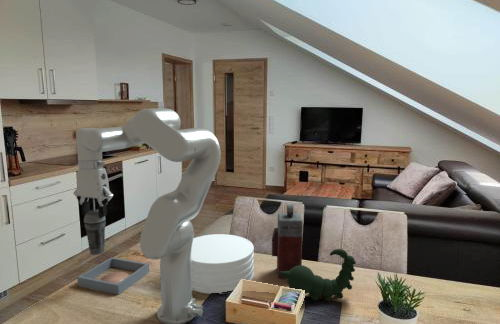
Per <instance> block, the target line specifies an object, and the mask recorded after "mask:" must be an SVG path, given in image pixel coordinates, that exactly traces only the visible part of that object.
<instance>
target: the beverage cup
mask: <svg viewBox="0 0 500 324" xmlns="http://www.w3.org/2000/svg"><path fill="white" fill-rule="evenodd" d="M92 206H93V207H92V208H93V209H90V211H89V212H87V214H86V215H85V216H83V217H84V218H83V224H84V229H85V232H86V238H87V244H88V249H89V253H90V255H93V256H95V255H96V256H97V255H101V254H102V255H103V254H104V252H105V246H106V245H105V243H106V242H105V238H106V235H105V233H106V232H105V231H106V221H107V218H106V216H104V217H102V218H100V217H99V211H98V209H97V208H96V202H95V198H92Z"/></svg>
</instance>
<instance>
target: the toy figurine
mask: <svg viewBox="0 0 500 324" xmlns="http://www.w3.org/2000/svg"><path fill="white" fill-rule="evenodd" d="M334 255H337V256H339V257H340V258H342V259H343V262H342V264H341V269H340V270H339V273H338V275H337V276H336V278H334V279H329V278H323V277H322V276H320V275H317V274H315V273H314V272H313V270H312V269H310V267H308V266H307V265H303V264H302V265H298V266H295V267H293V268H292V269H291V270H290V271H280V272H279V274H280V275H282V276H283V277H284V278H286V279H285V280H286V282H287V285H288V287H289V289H290V288H295V289H302V290H305V294H304V295H306V294H309V295H310V296H311V300H313V301H317V300H319V298H320V296H321V297H323V298H324V301H325V302H327V301H328V302H331V300H332V299H331V298H332V297H334V296H336V297H337V298H338V299H340V300H341V299H343V298H344V293H343V291H344V290H345V289H347V290H352V289H353V286H352V284H351V281H354V280H355V278H354V276H353V274H352V273H354V272H355V270H356V269H355V267H354V265H356V263H357V262H356V260H355V258H354V257H353V256H352V255H348V252H347V251H346V250H344V249H343V248H336V249H333V250H331V251H330V253H329V256H334ZM328 302H327V303H328Z"/></svg>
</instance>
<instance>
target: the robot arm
mask: <svg viewBox="0 0 500 324" xmlns="http://www.w3.org/2000/svg"><path fill="white" fill-rule="evenodd" d="M181 123H182V122H181V118H180V116H179V114H178V113H177V112H176V111H175V110H173V109H170V108H166V107H164V108H163V107H154V108H150V107H149V108H144V109H140V110H138V111H137V112H136V113H135V114H134V116H132V117H130V118H129V119H127V121H126V122H125V125H122V126H115V127H103V128H98V127H97V128H95V127H81V128H78V129H77V130H76V132H75V135H76V138H75V139H76V149H77V150H76V151H77V162H78V163H77V164H78V169H77V174H76V189H74V191H73V195H74V196H75V198H76V199H77V201H78V202H79V205H81V213H82V214H81V215H82V216H83V217H85V215H86V214H87V212H89V211H90V210H91V206H90V202H89V201H90V200H89V199H93V198H94V199H96V200H97V202H98V205H99V206H98V209H97V210H98V211H99V217H100V218H102V217H104V216H105V217H106V216H107V205H108V204H109V202H110V201H111V200H112V198H113V197H114V194H113V193H112V192H111V190H110V185H109V178H108V174H107V170H106V168H105V165H106V164H105V162H104V161H103V152H111V151H116V150H117V151H118V150H124V149H127V148H131V147H135V146H139V145H142V144H146V145H147V146H149V147H150V148H151V149H152V150H154V151H155V152H156V153H158V154H159V155H160V156H162V157H163V158H164V159H166V160H168V161H170V162H174V163H181V162H187V161H189V160H190V163H189V164H188V165H187V166H186V168H185V170H184V172H183V173H182V175H181V179H180V181H179V183H178V185H177V187H176V188H175V190H173V191H170V192H168V193H165V194H163V195H160V196H159V197H157V198H156V200H155V201H154V202H153V203H152V205H151V206H150V209H149V211H148V215H147V216H146V219H145V222H144V225H143V227H142V230H141V232H140V238H139V247H140V249H141V252H142V254H143V255H144V256H145V257H146V258H148V259H150V260H159V266H160V267H159V271H160V273H159V274H160V294H161V295H160V296H161V298H160V299H161V305H160V306H159V307H158V309H157V311H156V317H157V319H158V321H160V322H161V323H163V324H186V323H188V322H190V321H192V320H193V319H194V318H195V317H196V316H199V317H202V316H203V314H204V307H203V304H198V303H196V298H195V297H194V298H193V290H192V269H191V266H192V265H191V253H192V244H193V238H195V236H194V235H195V229H194V226H193V224H192V221H191V220H193V219H194V218H196V217H197V216H198V215H199V213H200V211H201V210H202V207H203V204H204V202H205V200H206V197H207V194H208V192H209V190H210V187H211V185H212V183H213V180H214V178H215V176H216V174H217V172H218V169H219V166H220V163H221V157H222V150H221V146H220V142H219V140H218V139H217V137H216V135H215V134H214V133H213V132H212V131H211V130H209V129H206V128H202V127H191V128H185V129H184V128H183V129H180V127H181Z"/></svg>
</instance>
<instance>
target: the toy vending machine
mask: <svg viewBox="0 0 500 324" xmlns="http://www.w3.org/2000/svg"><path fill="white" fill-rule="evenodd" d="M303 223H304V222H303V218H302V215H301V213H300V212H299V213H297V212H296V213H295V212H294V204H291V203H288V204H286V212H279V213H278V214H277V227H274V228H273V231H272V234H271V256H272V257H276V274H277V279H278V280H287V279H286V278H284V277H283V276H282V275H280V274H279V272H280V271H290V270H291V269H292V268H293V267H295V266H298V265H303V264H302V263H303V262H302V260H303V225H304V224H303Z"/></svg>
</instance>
